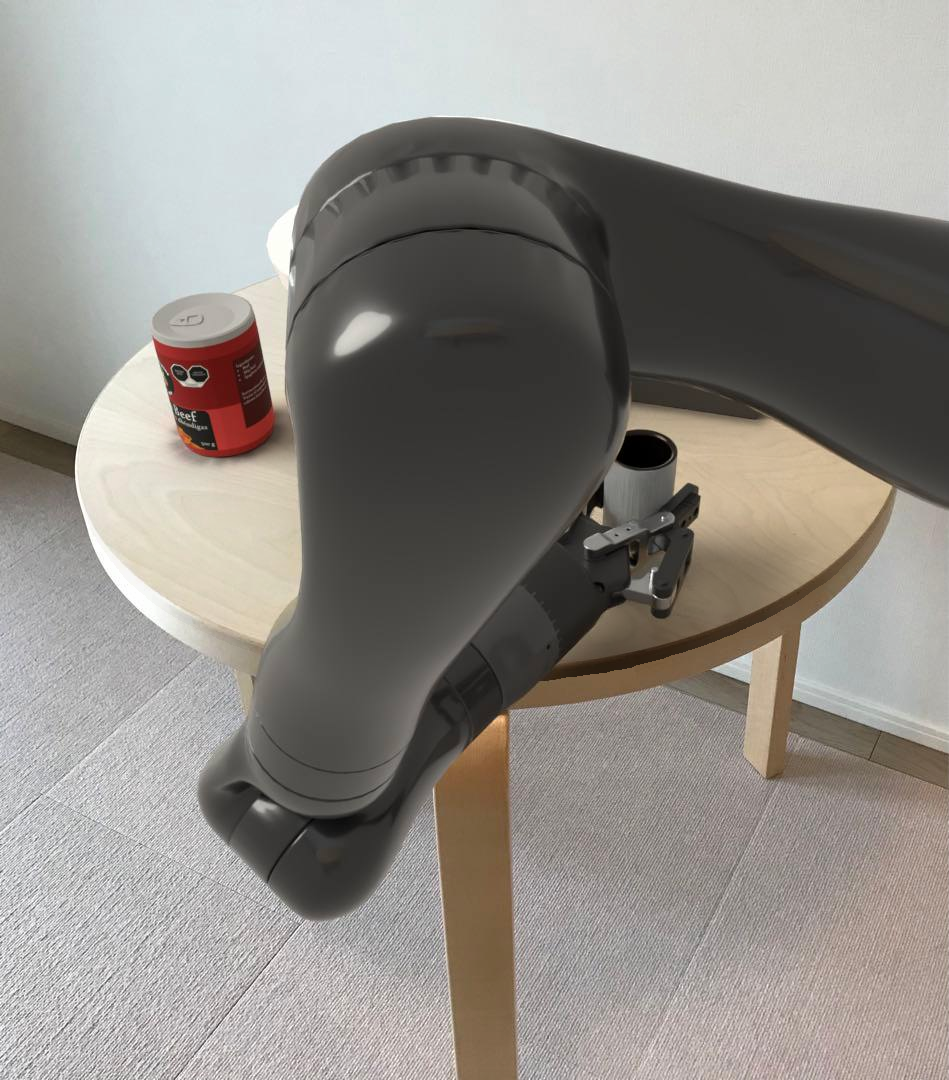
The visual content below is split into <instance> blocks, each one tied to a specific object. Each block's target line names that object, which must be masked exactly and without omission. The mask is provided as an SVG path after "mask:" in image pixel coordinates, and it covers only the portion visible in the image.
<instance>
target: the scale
mask: <svg viewBox="0 0 949 1080" xmlns="http://www.w3.org/2000/svg"><path fill="white" fill-rule="evenodd" d="M631 381H632V402H639V403H643V404H644V403H645V404H652V405H658V406H664V407H672V408H677V409H678V408H679V409H684V410H691V411H692V410H693V411H698V412H703V413H711V414H719V415H725V416H731V417H738V418H744V419H752V420H756V419H757V415H758V413H759V412H758V411H756V410H754V409H752V408H750V407H747V406H745V405H743V404H741V403H738V402H736V401H733V400H731V399H728V398H726V397H723V396H720V395H718V394H715V393H711V392H708V391H704V390H701V389H697V388H694V387H691V386H687V385H682V384H677V383H672V382H667V381H662V380H655V379H648V378H641V377H634V376H631Z"/></svg>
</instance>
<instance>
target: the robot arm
mask: <svg viewBox="0 0 949 1080" xmlns="http://www.w3.org/2000/svg"><path fill="white" fill-rule="evenodd" d="M297 205H298V207H297V211H296V215H295V218H294V224H293V230H292V238H291V250H290V266H289V286H288V292H287V305H286V306H287V307H286V328H285V357H284V358H285V360H284V361H285V362H284V395H285V402H286V407H287V411H288V415H289V419H290V425H291V428H292V429H291V430H292V436H293V443H294V451H295V461H296V462H295V463H296V475H297V476H296V477H297V489H298V490H297V491H298V505H299V507H298V508H299V522H300V537H301V538H300V539H301V572H300V581H299V588H298V593H297V596H295V597H294V598H293V599H292V600H291V601H290V602H289V603H288V604H287V605H286V606H285V608H284V609H283V610H282V611H281V613H280V614H279V615H278V616H277V618H276V620H275V621H274V623H273V625H272V627H271V629H270V631H269V634H268V636H267V638H266V640H265V642H264V646H263V648H262V651H261V655H260V658H259V660H258V666H257V671H256V674H255V678H254V683H253V689H252V693H251V698H250V702H249V703H250V704H249V708H248V713H247V715H246V716H245V719H244V720H243V721H242V723H241V725H240V726H239V728H238V729H237V730H236V731H234V732H233V733H231V735H230V736H229V737H228V738H227V739H225V741H223V743H222V744H221V745H219V747H218V748H217V749H216V750H215V752H213V754H212V755H211V756H210V758H209V759H208V760H207V762H206V763H205V764H204V767H202V769H201V772H200V774H199V776H198V779H197V784H196V798H197V803H198V806H199V809H200V812H201V814H202V817H203V818H204V820H205V822H206V823H207V824H208V826H209V827H210V829H211V830H212V831H213V833H214V834H215V835H216V836H217V837H218V838H219V839H220V840H221V841H222V842H223V843H224V844H225V845H226V846H227V847H228V848H229V849H230V850H231V851H232V852H233V853H234V854H235V855H236V856H237V857H238V858H239V859H240V861H242V862H243V863H244V864H245V865H246V866H247V867H248V868H249V869H250V870H251V871H252V872H253V873H254V874H255V875H256V876H257V877H258V878H259V879H260V881H261V882H263V884H265V885H266V886H267V887H268V889H269V890H271V892H272V893H273V894H274V895H275V896H276V897H277V898H278V899H279V900H280V901H281V902H282V904H284V905H285V906H286V907H287V908H288V909H289V910H290V911H291V912H292V913H294V914H296V915H297V916H298V917H299V918H301V919H303V920H307V921H309V922H319V923H321V922H329V921H334V920H337V919H340V918H343V917H346V916H348V915H350V914H351V913H353V912H355V911H356V910H358V909H359V908H360V907H362V906H363V905H365V904H366V902H368V900H370V898H372V896H374V894H375V893H376V891H377V890H378V889H379V887H380V886H381V884H382V883H383V881H384V880H385V878H386V876H387V874H388V873H389V871H390V869H391V867H392V865H393V863H394V862H395V859H396V858H397V856H398V854H399V852H400V850H401V848H402V846H403V844H404V842H405V840H406V838H407V837H408V833H409V832H410V830H411V828H412V827H413V824H414V822H415V820H416V818H417V817H418V815H419V813H420V811H421V809H422V808H423V806H424V804H425V803H426V801H427V799H428V797H430V794H431V792H432V791H433V789H435V787H436V785H437V784H438V782H439V781H440V780H441V778H442V777H443V776H444V774H445V773H446V772H447V771H448V769H449V768H450V767H451V766H452V764H453V763H454V762H455V761H456V760H457V759H458V758H459V756H460V755H461V754H462V753H463V752H465V751H466V749H467V748H468V747H470V745H471V744H472V743H473V742H474V741H475V740H476V739H477V738H479V736H480V735H482V733H483V732H484V731H485V730H486V729H487V728H488V727H489V726H490V725H491V724H492V723H493V722H494V721H495V720H496V719H497V718H498V717H499V716H501V715H502V714H503V713H504V712H505V711H506V710H507V709H509V708H510V707H512V706H513V705H514V704H516V703H517V702H519V701H520V700H521V699H523V698H524V697H525V696H526V695H527V694H528V693H530V691H531V690H532V689H533V688H534V687H535V686H536V685H538V683H540V681H542V680H543V679H544V678H546V677H547V676H548V675H549V674H550V673H551V671H552V670H553V669H554V667H555V666H557V665H558V663H559V662H561V660H562V659H563V658H565V656H567V654H569V652H570V651H571V650H572V649H573V648H574V647H575V646H576V645H577V644H578V643H579V642H580V641H581V640H582V639H583V638H584V637H585V636H586V635H588V633H589V632H590V631H591V630H592V629H593V628H594V627H595V626H596V624H597V623H598V622H599V620H600V619H601V617H602V616H603V614H604V613H605V612H607V611H608V610H610V609H613V608H616V607H618V606H622V605H623V604H624V603H626V602H627V601H631V602H635V603H639V604H643V605H646V606H650V610H649V611H650V614H651V616H652V617H653V618H656V619H659V620H664V619H667V618H668V617H670V616H671V614H672V611H673V609H674V606H675V604H676V601H677V599H678V597H679V594H680V591H681V589H682V587H683V584H684V582H685V579H686V578H687V575H688V572H689V570H690V567H691V566H692V559H693V549H694V541H695V531H693V529H691V528H689V527H690V526H691V525H692V524H693V523H694V522H695V521H696V520H697V519H698V517H699V514H700V505H701V499H702V498H701V497H702V495H700V494H699V490H700V487H699V486H698V485H696V484H693V483H691V482H686V483H685V484H684V485H683V486H682V487H681V488H680V489H679V490H678V491H677V492H676V493H674V496H673V497H672V498H671V499H670V501H669V502H667V503H666V504H665V505H664V506H662V507H661V508H660V512H659V513H657V514H655V515H653V516H651V517H649V518H647V519H645V520H643V521H641V522H639V521H638V520H636V519H632V520H630V521H628V522H626V523H624V524H622V525H620V526H618V527H616V528H612V527H608V526H604V525H602V524H600V523H599V522H597V520H595V519H594V518H593V515H594V513H595V508H598V509H600V510H603V499H604V478H605V477H606V475H607V473H608V472H609V470H610V469H611V467H612V465H613V463H614V461H615V459H616V457H617V455H618V453H619V451H620V449H621V447H622V444H623V442H624V439H625V435H626V432H627V431H628V427H629V421H630V417H631V412H632V404H633V401H632V381H631V376H634V377H641V378H648V379H655V380H662V381H667V382H672V383H677V384H682V385H687V386H691V387H694V388H697V389H701V390H704V391H708V392H711V393H715V394H718V395H720V396H723V397H726V398H728V399H731V400H733V401H736V402H738V403H741V404H743V405H745V406H747V407H750V408H752V409H754V410H756V411H758V412H757V413H760V414H762V415H764V416H765V417H767V418H769V419H771V420H773V421H774V422H776V423H779V425H781V426H784V427H785V428H787V429H788V430H789V429H790V431H792V432H794V433H796V434H797V435H799V436H801V437H803V438H805V439H806V440H808V441H810V442H812V443H813V444H815V445H817V446H818V447H820V448H822V449H824V450H825V451H827V452H829V453H831V454H833V455H834V456H836V457H838V458H840V459H842V460H843V461H845V462H847V463H849V464H851V465H852V466H855V467H856V468H857V469H859V470H862V471H863V472H866V473H867V474H869V475H871V476H873V477H875V478H877V479H879V480H880V481H882V482H884V483H886V484H888V485H890V486H891V487H893V488H895V489H897V490H899V491H901V492H902V493H905V494H907V495H909V496H911V497H913V498H915V499H917V500H920V501H922V502H925V503H927V504H929V505H931V506H933V507H936V508H938V509H941V510H944V511H947V512H949V220H945V219H940V218H936V217H935V218H934V217H929V216H923V215H917V214H916V215H915V214H911V213H904V212H898V211H892V210H887V209H882V208H875V207H867V206H861V205H853V204H846V203H841V202H834V201H833V202H832V201H826V200H820V199H815V198H808V197H803V196H796V195H791V194H786V193H781V192H777V191H772V190H769V189H764V188H759V187H754V186H752V185H747V184H743V183H739V182H735V181H732V180H727V179H723V178H719V177H716V176H712V175H710V174H709V175H708V174H705V173H701V172H697V171H694V170H690V169H687V168H683V167H680V166H676V165H673V164H669V163H665V162H662V161H658V160H655V159H650V158H647V157H644V156H641V155H636V154H633V153H629V152H625V151H622V150H618V149H615V148H611V147H608V146H604V145H601V144H598V143H594V142H590V141H586V140H583V139H579V138H577V137H572V136H569V135H566V134H565V135H564V134H560V133H558V132H557V133H556V132H552V131H548V130H545V129H540V128H537V127H532V126H529V125H525V124H521V123H517V122H516V123H515V122H511V121H507V120H501V119H495V118H490V117H489V118H488V117H487V118H486V117H481V116H480V117H479V116H457V115H455V116H454V115H430V116H424V117H418V118H417V117H416V118H412V119H406V120H400V121H399V120H398V121H395V122H392V123H389V124H386V125H383V126H381V127H378V128H375V129H372V130H370V131H367V132H365V133H362V134H360V135H358V136H357V137H355V138H354V139H352V140H350V141H349V142H347V143H346V144H344V145H342V146H341V147H340V148H338V149H336V150H335V151H334V152H333V153H332V154H331V155H330V156H329V157H327V158H326V159H325V160H324V161H323V162H322V163H321V164H320V166H318V167H317V169H316V170H315V171H314V172H313V174H312V176H311V177H310V179H309V180H308V182H306V184H305V187H304V189H303V191H302V193H301V195H300V198H299V201H298V204H297ZM653 536H654V538H652V537H653ZM651 538H652V539H651ZM664 553H665V555H664V558H663V560H662V562H661V564H660V567H659V568H657V567H652V568H651V570H650V572H648V573H646V574H645V575H644V577H642V578H640V579H631V575H633V574H635V573H637V572H639V571H641V570H643V569H644V568H645V567H646V565H647V563H648V562H649V561H650V560H652V559H654V558H656V557H658V556H660V555H662V554H664Z"/></svg>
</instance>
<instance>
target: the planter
mask: <svg viewBox="0 0 949 1080" xmlns="http://www.w3.org/2000/svg"><path fill="white" fill-rule="evenodd" d="M678 454H679V451H678V447H677V444H676V443H675V442H674V440H672V439H671V438H670V437H669V436H667V435H666V434H664V433H662V432H659V431H657V430H652V429H645V428H644V429H643V428H639V429H638V428H635V429H629V430H628V429H627V432H626V435H625V439H624V442H623V444H622V447H621V449H620V451H619V453H618V455H617V457H616V459H615V461H614V463H613V465H612V467H611V469H610V470H609V472H608V473H607V475H606V477H605V478H604V499H603V508H602V523H601V525H604V526H608V527H612V528H616V527H618V526H620V525H622V524H624V523H626V522H628V521H630V520H632V519H636V520H638V521H639V522H641V521H643V520H645V519H647V518H649V517H651V516H653V515H655V514H657V513H659V512H660V508H661V507H662V506H664V505H665V504H666V503H667V502H669V501H670V499H671V498H672V497H673V496H674V495H675V484H676V475H677V466H678ZM652 538H654V536H653V537H652ZM652 538H651V539H652ZM664 555H665V553H664V554H662V555H660V556H658V557H656V558H654V559H652V560H650V561H649V562H648V563H647V565H646V567H645V568H644V569H643V570H641V571H639V572H637V573H635V574H633V575H631V579H640V578H642V577H644V575H645V574H646V573H648V572H650V570H651V568H652V567H657V568H659V567H660V564H661V562H662V560H663V558H664Z"/></svg>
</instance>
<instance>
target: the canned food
mask: <svg viewBox="0 0 949 1080" xmlns="http://www.w3.org/2000/svg"><path fill="white" fill-rule="evenodd" d="M149 327H150V335H151V337H152V342H153V345H154V349H155V353H156V357H157V359H158V364H159V367H160V372H161V375H162V379H163V382H164V385H165V389H166V392H167V397H168V400H169V403H170V406H171V410H172V414H173V417H174V421H175V424H176V425H175V426H176V428H177V432H178V435H179V437H180V439H181V440H182V442H183V443H184V444H185V446H186V448H188V449H189V450H190V451H192V452H194V453H195V454H198V455H201V456H205V457H212V458H224V457H232V456H236V455H241V454H244V453H247V452H249V451H251V450H254V449H256V448H257V447H259V446H261V445H263V443H264V442H266V441H267V440H268V439H269V437H271V435H272V433H273V431H274V426H275V419H276V418H275V417H276V415H275V411H274V406H273V405H274V404H273V399H272V395H271V389H270V384H269V379H268V375H267V370H266V363H265V359H264V353H263V348H262V344H261V338H260V331H259V328H258V324H257V319H256V314H255V311H254V308H253V305H252V304H251V302H250V301H249V300H247V299H246V298H244V297H242V296H240V295H237V294H233V293H227V292H204V293H203V292H202V293H198V294H191V295H187V296H184V297H181V298H178V299H175V300H172V301H171V302H168V303H167V304H165V305H163V306H161V307H160V308H159V309H158V310H156V312H154V313H153V315H152V316H151V318H150V322H149Z"/></svg>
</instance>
